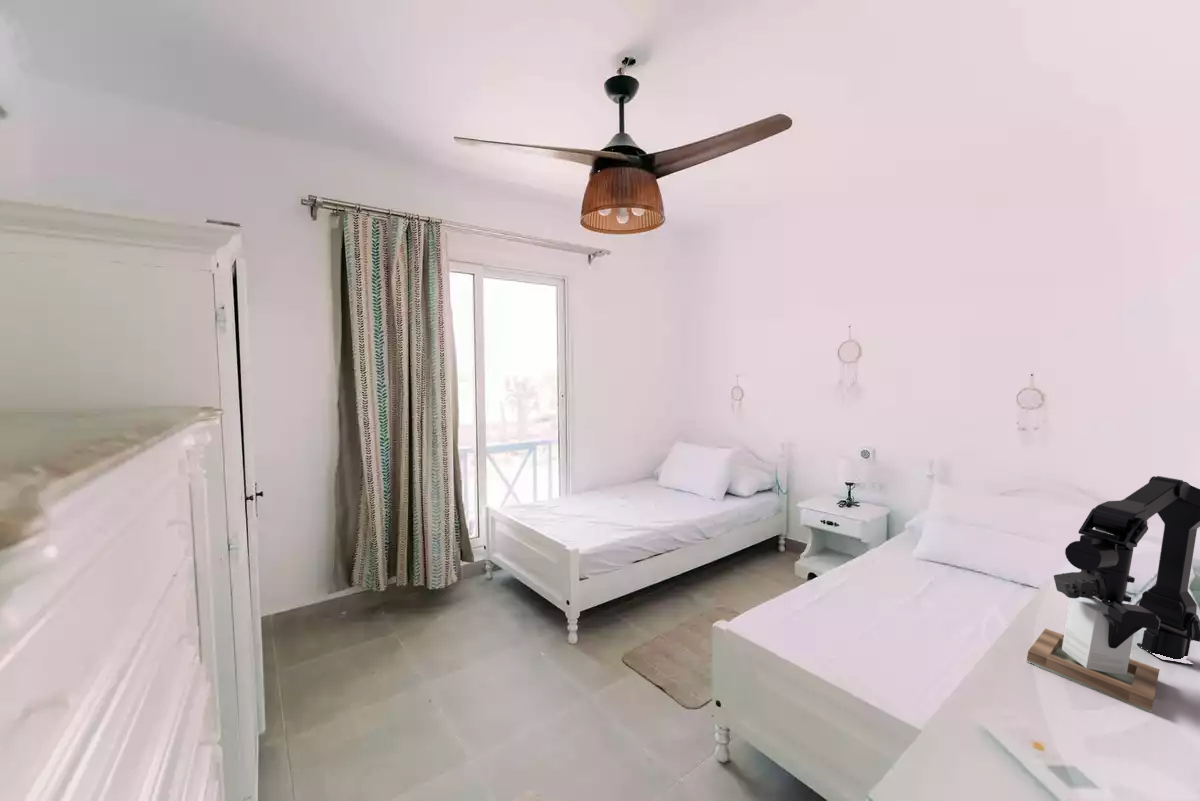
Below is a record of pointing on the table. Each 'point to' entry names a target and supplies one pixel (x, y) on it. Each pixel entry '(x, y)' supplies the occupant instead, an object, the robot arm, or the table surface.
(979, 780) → the table surface
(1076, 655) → the supplement box
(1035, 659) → the pocket board
